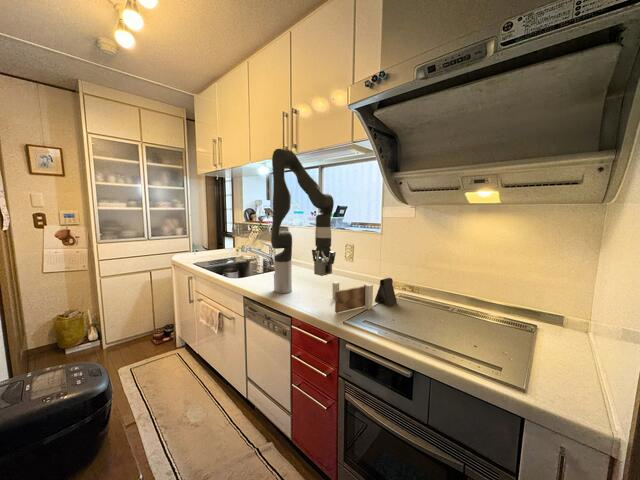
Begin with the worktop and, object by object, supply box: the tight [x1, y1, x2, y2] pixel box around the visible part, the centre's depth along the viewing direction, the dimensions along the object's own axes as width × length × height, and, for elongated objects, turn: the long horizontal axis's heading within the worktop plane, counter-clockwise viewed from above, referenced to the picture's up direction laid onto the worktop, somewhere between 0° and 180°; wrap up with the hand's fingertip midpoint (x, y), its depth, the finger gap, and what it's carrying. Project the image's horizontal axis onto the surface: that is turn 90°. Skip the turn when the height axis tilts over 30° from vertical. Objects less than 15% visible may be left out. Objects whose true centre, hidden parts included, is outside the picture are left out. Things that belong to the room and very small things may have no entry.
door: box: [334, 284, 367, 314], centre depth 115 cm, size 17×2×10 cm, turn 119°
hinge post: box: [364, 283, 374, 310], centre depth 118 cm, size 2×3×11 cm, turn 136°
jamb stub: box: [332, 281, 340, 299], centre depth 132 cm, size 2×2×8 cm
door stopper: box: [374, 277, 398, 307], centre depth 125 cm, size 9×6×12 cm, turn 37°
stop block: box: [313, 259, 333, 277], centre depth 123 cm, size 5×7×6 cm
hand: (323, 271), depth 123 cm, fingers closed on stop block, 5 cm apart
